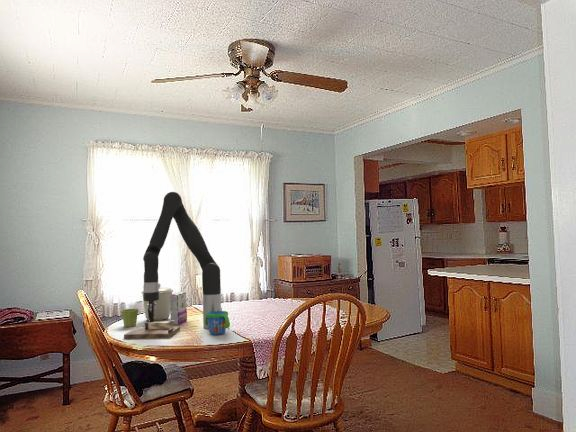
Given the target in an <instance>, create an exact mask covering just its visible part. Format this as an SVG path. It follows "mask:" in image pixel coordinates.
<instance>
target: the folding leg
mask: <svg viewBox="0 0 576 432" xmlns="http://www.w3.org/2000/svg"><path fill="white" fill-rule="evenodd" d="M173 322H175V320H171V319H170V320H169V321H167V320H166V321H154V322H149V321H146V322H145V323H144V327H145V330H148V329H170V328H173V327H174V325H173Z"/></svg>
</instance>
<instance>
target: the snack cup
mask: <svg viewBox="0 0 576 432" xmlns="http://www.w3.org/2000/svg"><path fill="white" fill-rule="evenodd" d="M205 324H206V325H208V327H209V329H208V331H209V335H211V336H221V335H224V334H225V333H226V332H227V331H226V330H227V329H230V327H231V323H230V319H229V311H227V310H226V311H225V310H222V311H213V312H208V313H206V320H205Z"/></svg>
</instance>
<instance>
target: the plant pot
mask: <svg viewBox="0 0 576 432" xmlns="http://www.w3.org/2000/svg"><path fill="white" fill-rule="evenodd" d="M139 310H140V309H139V308H126V309H121V310H120V312H121V315H122V316H121V317H122V321H123V326H124V327H125V328H126V327H127V328H130V327H134V326H135V327H136V325H137V322H138V321H137V319H138V315H139Z"/></svg>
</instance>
